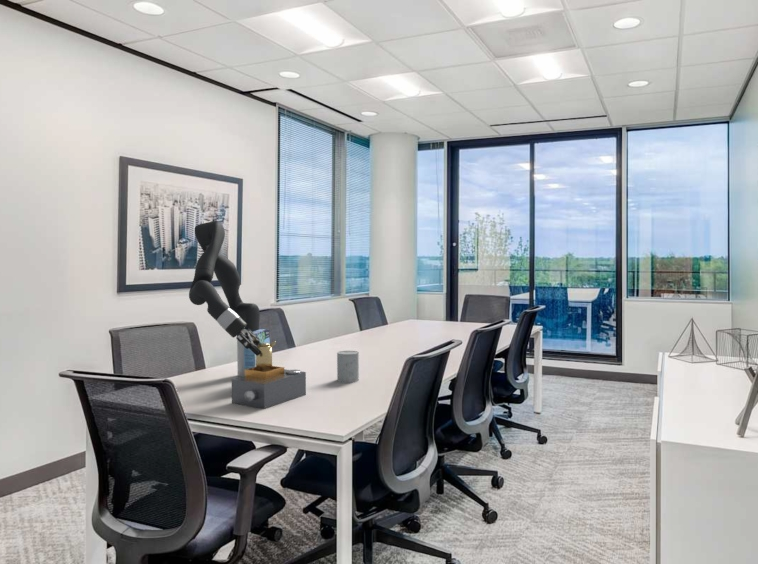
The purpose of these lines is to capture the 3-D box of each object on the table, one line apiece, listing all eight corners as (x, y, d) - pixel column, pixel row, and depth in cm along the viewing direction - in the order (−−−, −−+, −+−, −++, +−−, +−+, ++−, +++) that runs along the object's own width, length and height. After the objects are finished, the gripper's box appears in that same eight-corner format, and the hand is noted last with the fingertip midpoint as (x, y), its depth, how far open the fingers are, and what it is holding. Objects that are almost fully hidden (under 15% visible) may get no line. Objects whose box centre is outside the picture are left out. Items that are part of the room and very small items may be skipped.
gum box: (255, 391, 228) (254, 335, 227) (243, 391, 228) (242, 335, 227) (271, 381, 247) (270, 329, 246) (259, 380, 248) (259, 328, 247)
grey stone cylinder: (362, 379, 251) (362, 351, 250) (352, 383, 242) (352, 355, 241) (343, 377, 255) (343, 350, 254) (333, 381, 246) (333, 353, 245)
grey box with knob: (274, 389, 230) (274, 361, 230) (305, 394, 222) (305, 365, 222) (225, 404, 207) (225, 373, 207) (258, 410, 199) (258, 378, 199)
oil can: (254, 375, 214) (254, 342, 213) (258, 372, 220) (257, 339, 219) (275, 375, 214) (274, 342, 213) (278, 372, 220) (277, 339, 219)
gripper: (233, 317, 209) (265, 348, 209) (243, 313, 223) (272, 342, 224) (219, 332, 209) (251, 362, 210) (229, 327, 223) (259, 355, 224)
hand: (262, 352), depth 217 cm, fingers open, 8 cm apart
